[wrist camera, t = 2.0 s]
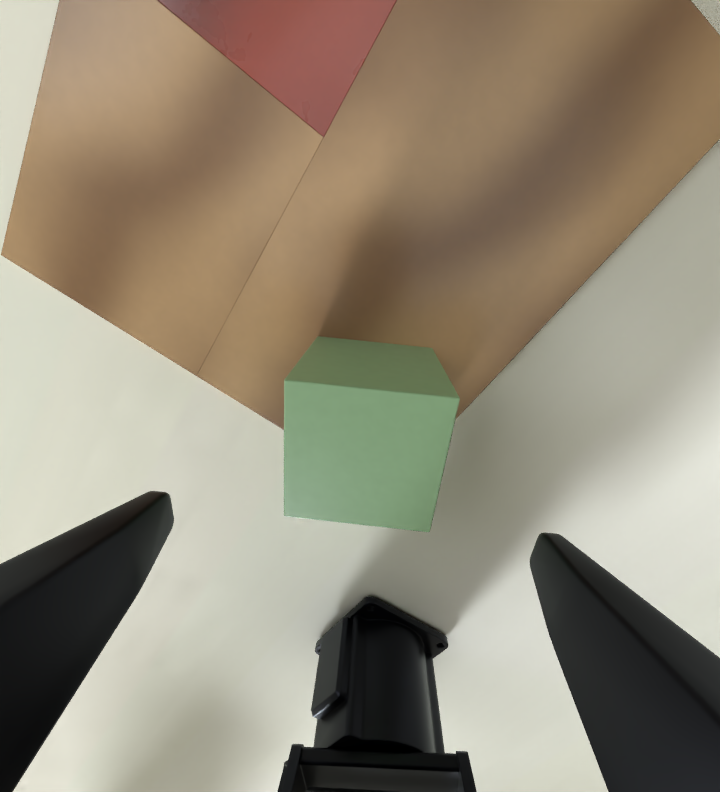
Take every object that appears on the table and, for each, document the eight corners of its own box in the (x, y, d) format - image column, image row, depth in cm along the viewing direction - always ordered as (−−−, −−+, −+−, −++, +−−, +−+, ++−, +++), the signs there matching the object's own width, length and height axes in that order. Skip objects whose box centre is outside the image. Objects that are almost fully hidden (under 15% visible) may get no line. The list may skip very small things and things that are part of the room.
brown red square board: (759, 92, 11) (766, 89, 11) (386, 491, 18) (386, 493, 18) (199, -573, 7) (195, -594, 7) (5, 254, 14) (0, 254, 14)
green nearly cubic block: (432, 347, 14) (460, 397, 9) (414, 447, 16) (430, 532, 11) (317, 335, 15) (283, 379, 9) (313, 436, 17) (283, 516, 11)
